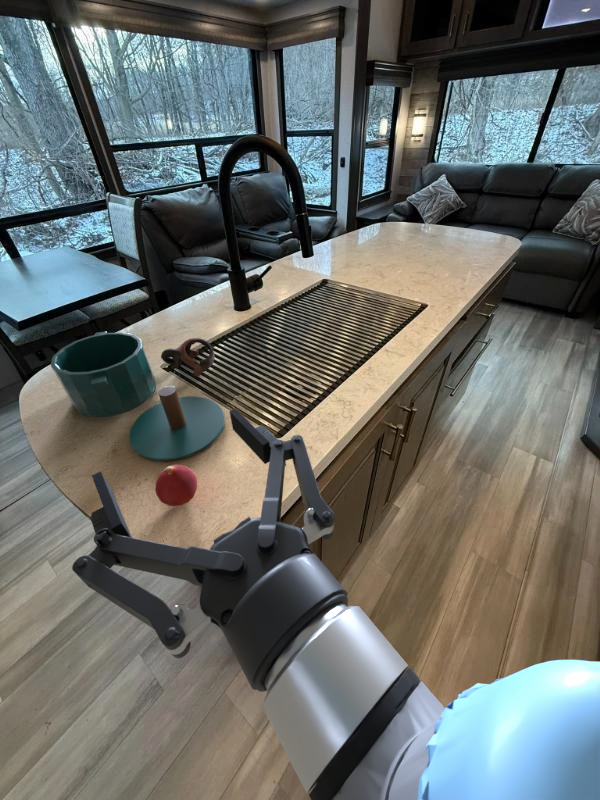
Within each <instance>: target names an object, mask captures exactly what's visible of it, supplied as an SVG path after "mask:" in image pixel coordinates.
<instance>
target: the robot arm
mask: <svg viewBox="0 0 600 800" xmlns="http://www.w3.org/2000/svg"><path fill="white" fill-rule="evenodd" d="M229 415H230V416H229V417H230V421H231V427H232V431H234V432H235V434H236V435H237V436H238V437H239V438H240V439H241V440H242V442H244V443H245V444H246V446H248V448H249V449H250V450H251V451H252V452H253V454H255V455H256V456H257V458H258V459H260V461H261V462H262V463H263V464H264V465H266V464H268V463H269V464H268V469H267V478H266V483H265V484H266V486H265V492H264V498H263V499H262V505H261V513H260V517H253V518H251V517H250V516H248V517H246V518H245V519H243V520H241V521H240V522H239V523H238V524H237V525H236V526H235V528H234V529H232V530H229V531H227V532H225V533H222V534H221V535H219V536H218V537H215V538H214V539H213V544H212V545H211V547H210V548H209V549H207V548H203V547H197V546H191V545H190V546H189V547H181V546H177V545H176V546H175V545H171V544H166V543H160V542H156V541H151V540H146V539H141V538H136V537H132V534H131V532H130V529H129V527H128V524H127V522H126V520H125V517H124V514H123V512H122V510H121V508H120V505H119V503H118V501H117V498H116V496H115V493H114V491H113V489H112V488H111V485H110V484H109V482H108V480H107V479H106V477H105V475H104V473H103V472H102V471H98V472H96V473H94V474H92V475H91V478H92V481H93V483H94V486H95V489H96V491H97V494H98V497H99V499H100V501H101V505H102V506H101V507H99V508H97V509H96V510H94V511H92V512H91V514H90V521H91V525H92V527H93V531H94V536H93V542H94V543H95V545H96V546H95V547H94V549H93V550H92V551H91V552H90V553H89V554H88V555H87V554H85V555H82V556H79V557H78V558H77V559H76V560H75V561H74V562H73V564H72V566H71V570H72V571H73V573H74V574H75V575H76V576H77V577H78V578H79V579H80V580H81V581H82V582H83V583H84V584H85V585H86V587H88V588H89V589H91V590H92V591H94V592H95V593H97V594H98V595H101V596H102V597H104V598H105V599H106V600H108V601H110V602H111V603H113V604H115V606H117V607H119V608H120V609H122V610H124V611H125V612H126V613H128V614H130V615H131V616H132V617H134V618H136V619H137V620H139V621H140V622H142V623H144V624H145V625H147V626H148V627H150V628H151V629H153V630H154V631H155V633H156V635H157V636H158V638H159V640H160V642H161V644H162V645H163V646H164V647H165V648H166V649H167V651H168V652H169V653H170V654H171V655H172V657H174V658H175V659H181V658H184V657H186V655H187V654H188V653H189V652H190V649H191V643H192V642H191V641H192V640H193V639H194V638H195V637H196V636H197V635H199V634H200V632H202V631H203V629H205V628H206V627H207V626H208V625H209V624H210V623H212V624H214V625H216V626H217V627H218V628H219V629H220V630H221V631H222V633H223V635H224V637H225V639H226V642H227V643H228V645H229V647H230V649H231V651H232V653H233V654H234V656H235V658H236V660H237V662H238V664H239V666H240V668H241V670H242V672H243V674H244V676H245V678H246V680H247V682H248V684H249V685H250V687H251V689H252V690H254V691H258V692H260V693H261V692H263V693H264V692H266V693H265V695H264V699H263V706H262V707H263V708H262V709H263V711H264V713H265V715H266V717H267V719H268V721H269V723H270V725H271V728H272V729H273V731H274V733H275V735H276V736H277V738H278V741H279V742H280V744H281V746H282V748H283V750H284V752H285V755H286V757H287V758H288V760H289V763H290V764H291V766H292V768H293V770H294V772H295V774H296V775H297V778H298V779H299V781H300V784H301V785H302V788H303V790H304V791H305V794H308V793H309V795H308V796H309V798H310V800H600V661H590V660H583V659H556V660H548V661H544V662H541V663H536V664H534V665H531V666H529V667H526V668H524V669H521V670H519V671H517V672H515V673H512V674H510V675H508V676H505V677H503V678H502V677H501V678H496V679H494V681H492V682H491V683H489V684H488V683H480V682H477V683H475V684H474V685H473V686H471V687H470V688H468V689H465V690H463V691H462V692H461V693H459V694H458V695H457V699H454V700H452V701H451V702H449V703H448V704H447V705H446V706H444V705H443V704H442V703H441V702H440V701H439V700H438V698H437V697H436V696H435V695H434V694H433V692H431V690H430V689H429V688H428V687H427V686H426V684H425V683H424V682H423V681H422V680H421V679H420V678H419V676H418V675H417V673H416V672H415V671H414V670H413V668H412V667H409V664H408V663H407V662H406V661H405V659H404V658H403V657H402V656H401V655H400V654H399V652H398V651H397V650H396V649H395V648H394V646H393V645H392V644H391V642H390V641H388V639H387V637H386V636H384V634H383V632H381V631H380V629H379V628H378V627H377V626H376V625H375V623H374V622H373V621H372V620H371V619H370V617H369V616H368V615H367V614H366V613H365V611H364V610H363V609H362V608H361V606H360V605H359V606H357V605H349V606H348V604H349V598H348V592H347V590H346V589H345V588H344V587H343V585H342V584H341V583H340V582H339V581H338V580H337V579H336V576H334V575H333V574H332V572H331V571H330V570H329V569H328V567H326V565H325V564H324V563H323V562H322V560H321V559H320V558H319V557H318V556H317V554H315V553H314V552H313V550H312V549H311V547H310V544H312V543H314V542H315V541H317V540H319V539H320V538H322V539H323V540H330V539H332V537H333V536H334V530H335V529H334V528H335V519H336V518H335V513H334V511H333V510H332V508H331V507H330V506H329V504H327V502H326V501H325V499H323V497H322V495H321V491H320V489H319V485H318V482H317V479H316V476H315V472H314V470H313V466H312V463H311V460H310V457H309V452H308V450H307V447H306V444H305V443H306V442H305V440H304V437H303V436H302V435H300V434H295V435H292V436H291V438H290V439H289V440H282V439H279V438H277V437H276V436H275V435H274V434H273V433H272V432H271V431H270V430H268V428H267V427H265V426H263V425H262V424H260V425H258V426H256V427H255V426H254V425H253V424H252V423H251V422H250V421H249V420H248V419H247V418H246V417H245V416H244V415H243V414H242V413H241V412H240V411H239V410H238V409H237V408H233V409H231V410H229ZM289 460H292V463H293V467H294V471H295V472H294V473H295V475H296V479H297V483H298V487H299V491H300V495H301V499H302V503H303V507H304V511H305V512H304V513H303V527H299V526H296V525H293V524H288V523H285V522H282V507H283V496H284V495H283V494H284V484H285V483H284V482H285V472H286V466H287V461H289ZM113 566H118V567H123V568H127V569H131V570H136V571H139V572H145V573H149V574H155V575H160V576H163V577H164V576H165V577H169V578H173V579H177V580H183V581H187V582H189V583H190V584H192V585H195V586H197V587H201V590H200V594H199V595H200V596H199V605H197V606H196V607H193V608H190V607H188V606H187V605H185V604H182V603H181V604H180V603H179V604H175V605H173V606H172V607H171V608H170V607H169V606H168V604H167V603H166V602H165V601H164V600H162V598H160V597H158V596H157V595H155V594H154V593H152V592H150V591H149V590H147V589H146V588H143V587H142V586H140V585H139V584H137V583H135V582H134V581H132V580H130V579H129V578H127V577H125V576H124V575H122V574H120V573H119V572H117V571H115V570H113V569H112V568H113Z"/></svg>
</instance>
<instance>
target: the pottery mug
mask: <svg viewBox="0 0 600 800" xmlns="http://www.w3.org/2000/svg"><path fill="white" fill-rule="evenodd" d="M197 343H198V344H201V345H202V346H205V347H206V348H207V349H208V350H209V354H208V356H207V357H205V358H204V359H201V360H200V359H199V363H196V362H195V360H196V359H194V358H198V353H199V350H197V349H195V350H194V349H192V348H191V347H193V346H192V345H195V344H197ZM160 358H161V360H162V361H163V362H164V363H166V364H168V365H171V366H173V367H174V368H175V369H179V366H181V363H182V362H183V363H184V364H186V365H187V366H189V367H190V368H192V369H193V372H192V376H194V377H200V376H201V375H202V373H205V372H206V371H208V370H209V369H210V368H211V367H212V365H214V361H215V352H214V348H213V346H212V345H211V343H210V342H209V341H207V340H206V339H203V338H199V337H197V338H196V337H192V338H191V337H190V338H188V339H186V340H185V341H183V342H182V343H181V344H180V345H179V346H178V347H177V348H166V349H164V350H163V351H162V352H161V354H160Z"/></svg>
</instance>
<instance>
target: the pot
mask: <svg viewBox="0 0 600 800" xmlns="http://www.w3.org/2000/svg"><path fill="white" fill-rule="evenodd" d="M50 367H51V368H52V371H53V372H54V374H55V376H56V377H57V379H58V381H59V382H60V384H61V386H62V388H63V390H64V391H65V394H66V395H67V397H68V398H69V400H70V402H71V404H72V405H73V406H74V408H75V409H76V411H78V413H79V414H81V415H84V416H87V417H92V418H107V417H113V416H117V415H120V414H124V413H126V412H129V411H132V410H134V409H135V408H137V407H139V406H141V405H143V404H144V403H145V402H146V401H148V400H149V399H150V397H152V395H153V394H154V392H155V390H156V387H157V383H156V379H155V376H154V372H153V369H152V366H151V365H150V360H149V358H148V356H147V353H146V350H145V347H144V344H143V341H142V339H141V338H139V337H138V336H137V335H135V334H132V333H127V332H107V331H100V332H95V333H94V335H89V336H87V337H86V336H85V337H84V338H81V339H77V340H75V341H73V342H71V343H69V344H67V345H65V346H63V347H61V348H60V349H59V350H58V351H57V352H56V353H55V354H54V355H53V356H52V357H51V361H50Z"/></svg>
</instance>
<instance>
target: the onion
mask: <svg viewBox="0 0 600 800" xmlns="http://www.w3.org/2000/svg"><path fill="white" fill-rule="evenodd" d="M197 489H198V479H197V476H196V474H195V473H194V472H193V470H192V469H191V468H190V467H187V466H186V465H184V464H172V465H169V466H167V467H165V468H164V469H162V471H161V472H160V473H159V474H158V476H157V478H156V480H155V489H154V491H155V495H156V497H157V498H158V500H159V501H160V503H163V504H165V505H167V506H169V507H179V506H182V505H184V504H185V505H186V504H187V503H188V502H189V501H191V500H192V499H194V497H195V494H196V492H197Z"/></svg>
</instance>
